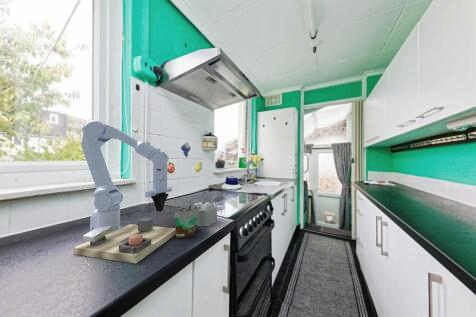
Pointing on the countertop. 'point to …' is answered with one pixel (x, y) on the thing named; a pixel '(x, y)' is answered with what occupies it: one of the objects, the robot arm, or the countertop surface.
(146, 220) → the slider knob
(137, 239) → the push button
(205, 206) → the lumpy-topped squat cylinder
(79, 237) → the countertop surface
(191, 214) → the food container
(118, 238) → the control board
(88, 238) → the rocker switch
